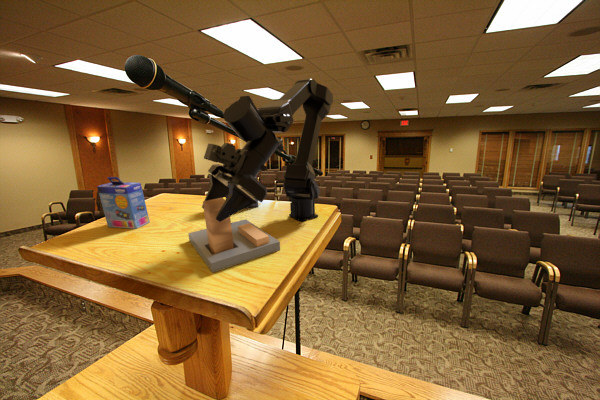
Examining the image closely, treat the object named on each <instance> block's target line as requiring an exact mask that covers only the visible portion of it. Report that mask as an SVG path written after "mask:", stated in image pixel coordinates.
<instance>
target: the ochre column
mask: <svg viewBox="0 0 600 400" xmlns="http://www.w3.org/2000/svg"><path fill="white" fill-rule="evenodd" d="M225 200H226V198H225V199H224V197H223V198H218V199H212V200H207V201H204V200H203V201H202V205H203V207H204V209H203V212H204V222H205V227H206V228H205V229H207V235H208V243H209V250H210V253H211V254H212V255H214V254H217V253H220V252H224V251H227V250H230V249H234V246H233V237H232V228H231V223H232V220H231V216H230V217H228V218H226V219H224V220H223V221H221V222H219V221H218V220H216V216H217V214H218V213H219V211H220V209H221V207H222V206H223V204H224V202H225Z"/></svg>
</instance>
